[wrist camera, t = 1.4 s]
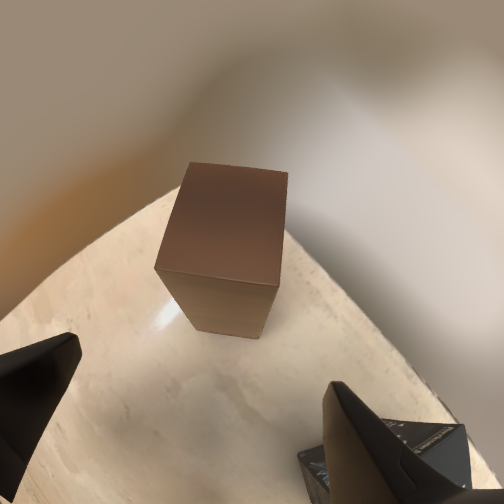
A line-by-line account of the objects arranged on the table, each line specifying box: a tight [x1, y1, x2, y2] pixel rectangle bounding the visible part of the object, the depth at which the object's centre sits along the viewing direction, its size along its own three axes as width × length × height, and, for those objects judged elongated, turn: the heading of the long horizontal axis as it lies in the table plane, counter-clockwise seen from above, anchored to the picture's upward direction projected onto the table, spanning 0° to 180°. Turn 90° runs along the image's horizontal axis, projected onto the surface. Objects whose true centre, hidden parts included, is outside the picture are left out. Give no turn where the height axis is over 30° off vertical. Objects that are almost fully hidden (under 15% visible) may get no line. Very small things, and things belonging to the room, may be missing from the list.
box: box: [297, 419, 472, 504], centre depth 11 cm, size 8×6×11 cm
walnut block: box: [154, 162, 288, 339], centre depth 17 cm, size 6×5×12 cm
